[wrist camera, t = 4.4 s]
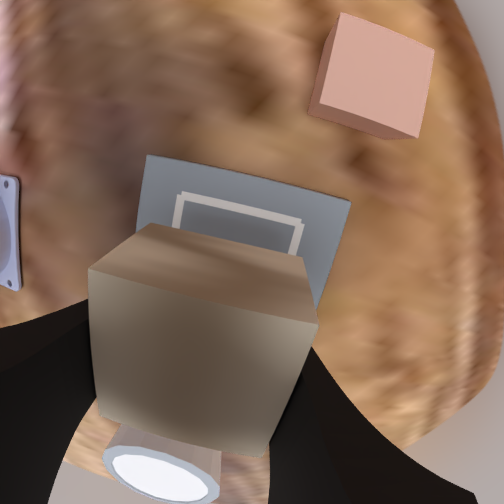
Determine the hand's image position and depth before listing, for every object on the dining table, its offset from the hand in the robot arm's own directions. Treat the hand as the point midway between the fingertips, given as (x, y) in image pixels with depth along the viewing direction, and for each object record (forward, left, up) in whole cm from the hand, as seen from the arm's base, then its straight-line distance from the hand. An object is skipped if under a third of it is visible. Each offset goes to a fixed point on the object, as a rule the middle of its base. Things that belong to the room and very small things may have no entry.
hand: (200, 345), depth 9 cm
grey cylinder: (-1, -11, -8) cm, 14 cm away
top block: (+4, +10, -8) cm, 13 cm away
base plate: (0, 0, -8) cm, 8 cm away
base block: (0, 0, -2) cm, 2 cm away
